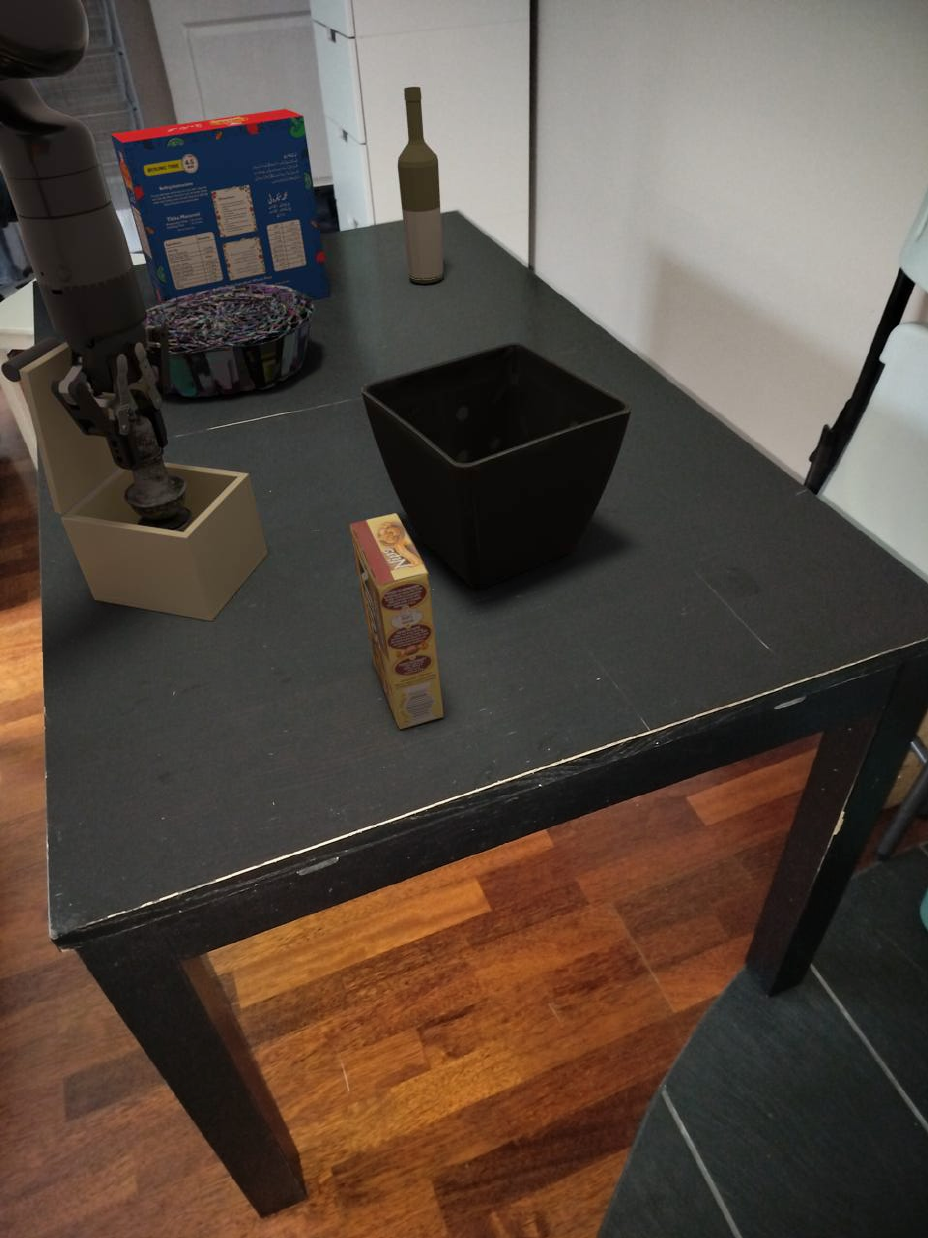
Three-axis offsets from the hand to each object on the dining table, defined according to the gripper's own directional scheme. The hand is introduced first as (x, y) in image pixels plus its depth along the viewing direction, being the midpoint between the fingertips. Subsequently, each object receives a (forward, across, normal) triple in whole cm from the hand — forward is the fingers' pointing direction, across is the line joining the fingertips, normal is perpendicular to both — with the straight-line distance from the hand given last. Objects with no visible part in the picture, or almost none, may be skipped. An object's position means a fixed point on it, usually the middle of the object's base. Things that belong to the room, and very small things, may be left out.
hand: (144, 456), depth 80 cm
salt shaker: (+7, 0, 0) cm, 7 cm away
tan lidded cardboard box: (+14, 0, 0) cm, 14 cm away
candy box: (+14, +10, +28) cm, 33 cm away
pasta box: (+14, -72, -32) cm, 81 cm away
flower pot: (+14, -14, +30) cm, 36 cm away
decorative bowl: (+14, -48, -21) cm, 54 cm away
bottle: (+14, -91, -5) cm, 92 cm away
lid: (-3, 0, -5) cm, 6 cm away
